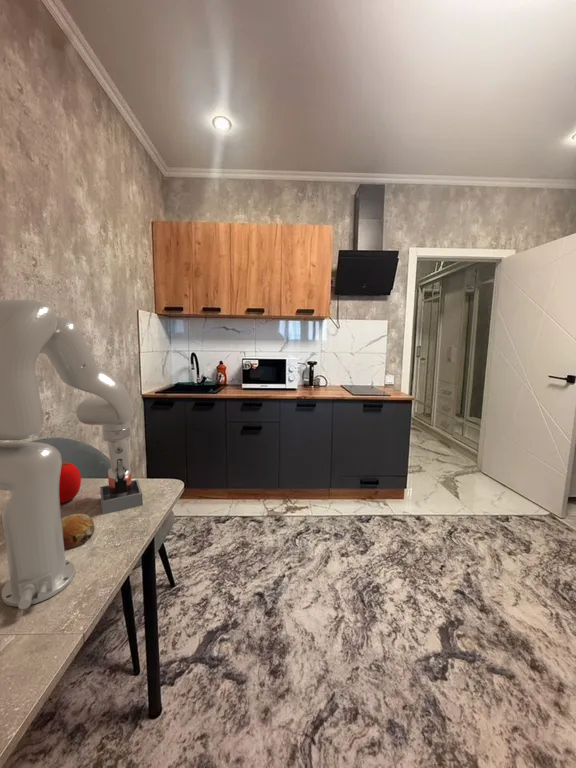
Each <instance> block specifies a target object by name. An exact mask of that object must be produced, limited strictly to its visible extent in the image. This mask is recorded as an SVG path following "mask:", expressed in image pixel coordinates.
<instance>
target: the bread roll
mask: <svg viewBox="0 0 576 768" xmlns="http://www.w3.org/2000/svg"><path fill="white" fill-rule="evenodd" d="M61 521H62V531H63V541H64V550H69V549H73V548H76V547H78V546H82V545H83V544H85V543H87V542H88V541H89V540H90V539H91V538H92V536H93V534H94V533H95V529H96V527H95V523H94V521H93V519H92V518H91V516H89V515H87V514H85V513H73V514H72V513H71V514H69V515H66V516H64V517H61Z"/></svg>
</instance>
